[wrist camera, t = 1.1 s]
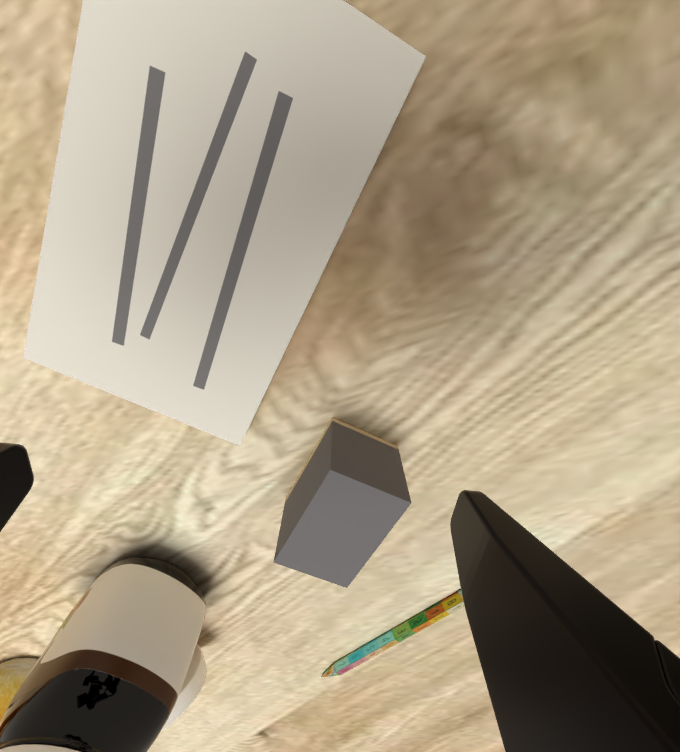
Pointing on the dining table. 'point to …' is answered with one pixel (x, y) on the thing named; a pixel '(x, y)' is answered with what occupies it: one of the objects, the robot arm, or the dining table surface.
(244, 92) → the board
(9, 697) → the bread roll
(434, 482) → the dining table surface
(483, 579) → the robot arm
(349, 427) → the block
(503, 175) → the dining table surface
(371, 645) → the pencil
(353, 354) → the dining table surface
